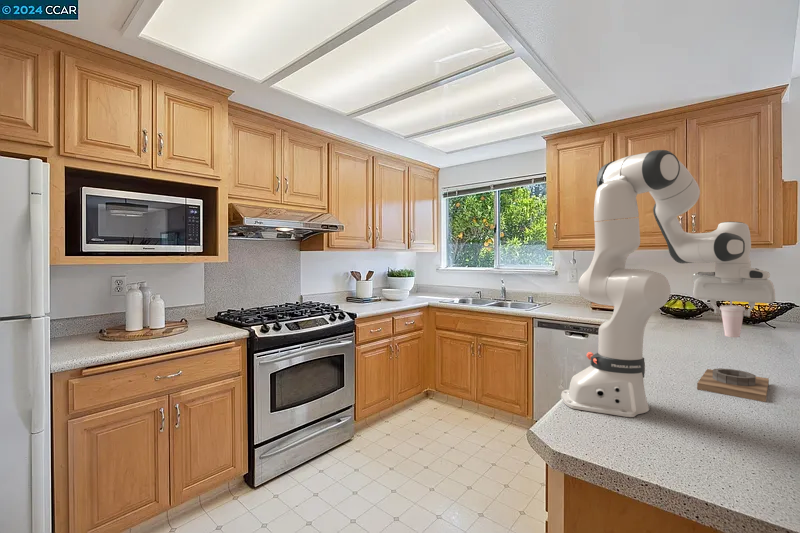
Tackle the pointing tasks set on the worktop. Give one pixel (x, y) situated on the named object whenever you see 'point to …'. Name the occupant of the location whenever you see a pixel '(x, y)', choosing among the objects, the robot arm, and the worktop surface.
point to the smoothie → (732, 319)
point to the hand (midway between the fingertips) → (731, 315)
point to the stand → (734, 384)
